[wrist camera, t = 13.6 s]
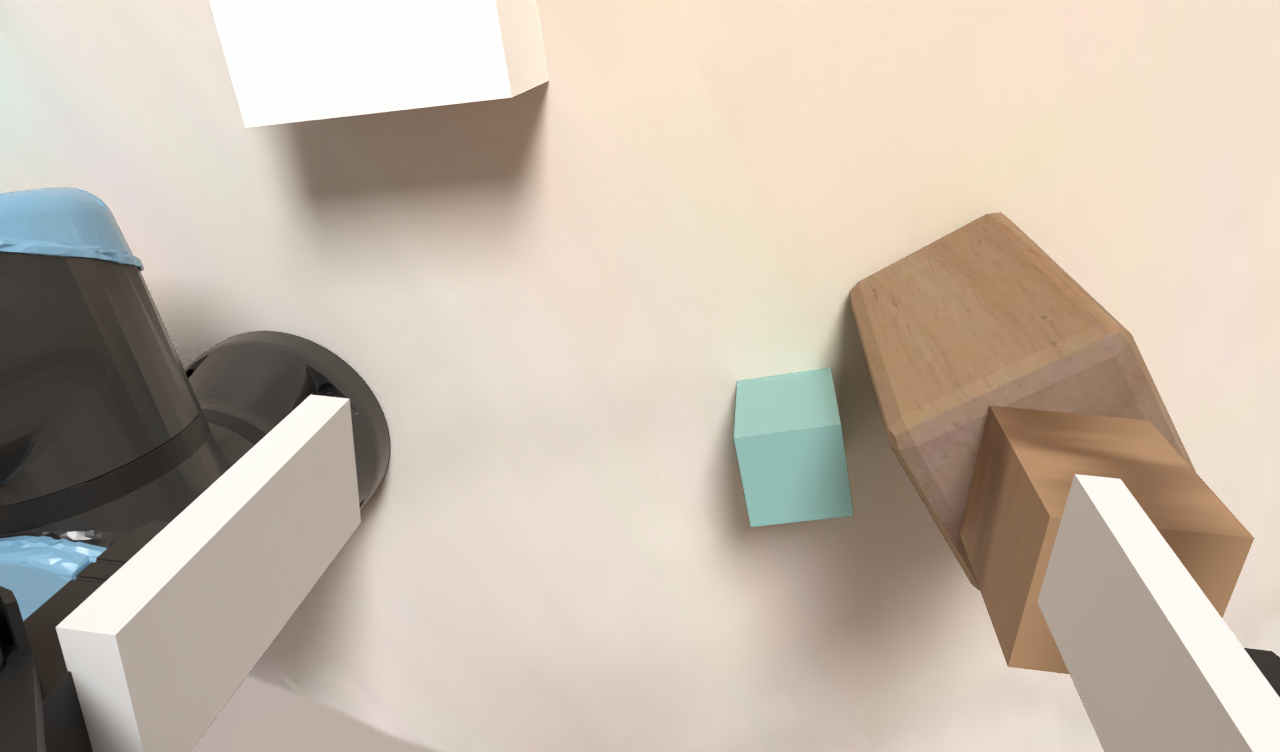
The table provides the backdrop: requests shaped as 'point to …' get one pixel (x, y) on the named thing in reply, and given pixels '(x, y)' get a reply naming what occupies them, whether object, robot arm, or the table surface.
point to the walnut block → (1035, 501)
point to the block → (988, 355)
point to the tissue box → (375, 55)
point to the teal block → (791, 448)
